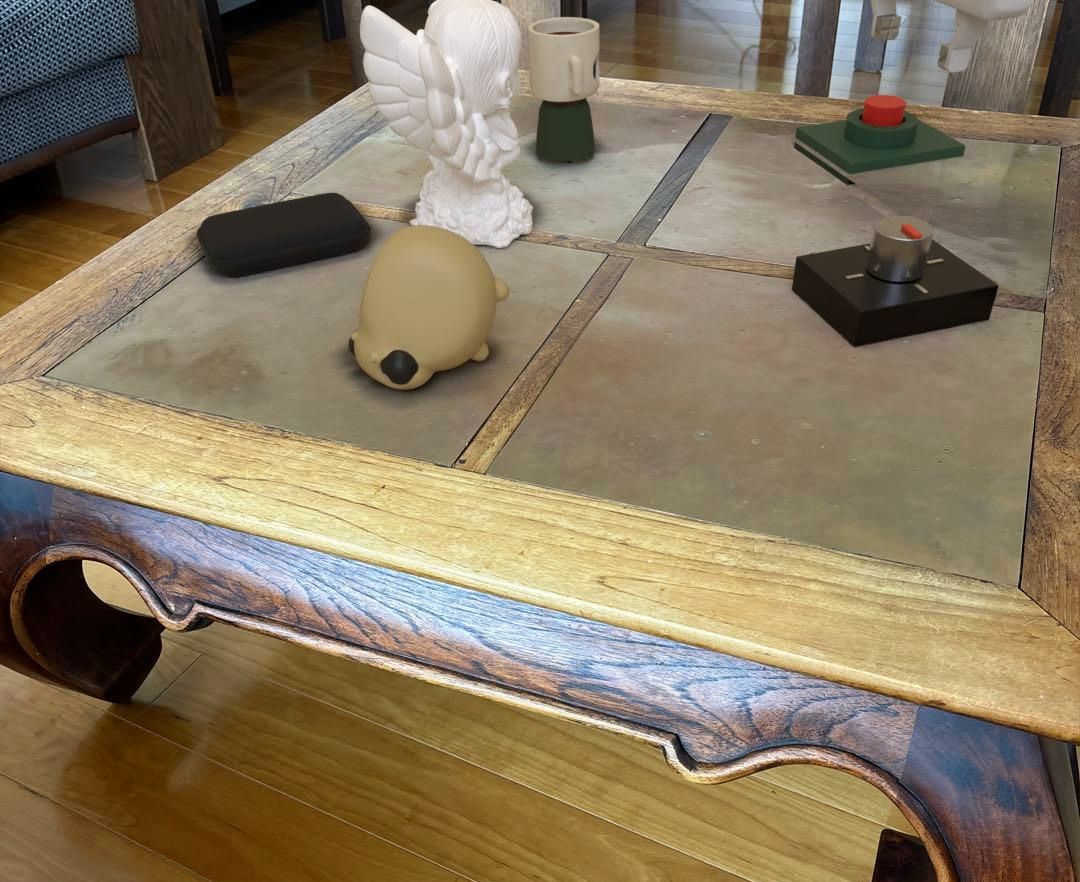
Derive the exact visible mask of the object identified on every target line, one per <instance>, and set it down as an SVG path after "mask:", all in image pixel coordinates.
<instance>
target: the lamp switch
mask: <svg viewBox="0 0 1080 882" xmlns="http://www.w3.org/2000/svg"><path fill="white" fill-rule="evenodd" d="M863 109H864V107H861V108H856V109H854V110H852V111H850V112H849V113H847V114H846V119H845V120H839V121H832V122H825V123H817V124H812V125H805V126H797V127H796V129H795V138H796V140H798V141H800V142H801V143H802V144H805V146H807V147H809V148H810V149H811V150H813V151H814V152H816V153H818V155H820V156H822V157H823V158H825V159H826V160H827V161H828V162H830V163H831V164H833V165H835V166H836V167H838V168H839V169H841V170H842V171H843V172H845V173H846V174H848V175H852V174H858V173H866V172H872V171H878V170H883V169H890V168H891V169H892V168H895V167H902V166H909V165H914V164H921V163H926V162H933V161H939V160H945V159H946V160H947V159H952V158H958V157H964V154H965V149H966V145H965V144H964V143H962V142H960V141H959V140H956V139H955V138H953V137H951V136H949V135H947V134H945V132H942V131H940V130H939V129H937V128H935V127H933V126H932V125H930V124H928V123H926V122H924V121H922V120H920V119H919V118H918V116H917V115H914V113H911V112H909V111H907V110H905V112H904V117H903V122H902V124H901V125H896V126H875V125H871V124H867V123H864V122H863V121H862V115H863ZM793 148H794V149H795V150H796V151H798V152H799V153H801V154H802V155H803V156H805V157H806V158H807V159H809V160H811V161H812V162H813V163H815V164H816V165H818V166H819V167H820V168H822V169H823V170H824V171H826V172H827V173H829V174H830V175H832V176H833V177H835V178H836V179H838V180H839V181H840V182H842V183H843V184H845V185H846V186H852V185H856V183H855V182H854V181H853V180H851V179H850V178H849V177H847V176H845V175H844V174H842V173H841V172H840V171H838V170H836V168H833V166H831V165H830V164H828V163H826V162H825V161H824V160H822V159H821V158H819V157H817V156H816V155H814V154H813V153H812V152H810V151H809V150H807V149H806V148H805V147H803V146H802V145H801V144H798V143H797V142H796V141H794V145H793Z"/></svg>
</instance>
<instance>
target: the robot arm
mask: <svg viewBox="0 0 1080 882" xmlns="http://www.w3.org/2000/svg"><path fill="white" fill-rule="evenodd" d="M933 1H934V2H936V3H939V4H942V5H944V6H947V7H949V8H952V9H954V10H956V12H955V18H954V25H955V26H958V27H957V29H956V31H955V32H954V34H953V36H952V37H951V39H950V41H949V43H942V44H941V45H940V49H939V58H938V59H937V66H938V67H939V68H940V69H942V70H943V71H946V72H948V73H950V74H952V73H953V74H954V73H959V72H964V71H965V70H966V69H967V68H968V66H969V62H970V58H971V53H972V50H973V47H974V46H975V45H976V43H977V42H978V41H979V39H980V38H981V37H982V36H983V34H984V33H985V31H986V30H987V29H988V27H989V26H990V22H992V21H993V22H995V21H1001V20H1008V19H1009V20H1010V19H1015V18H1020V17H1022V16H1024V15H1025V13H1026V12H1027V11H1028V10H1029V9H1030V8H1031V6H1032V5H1033V3H1034V2H1035V0H933ZM870 6H871V11H872V15H873V18H872V24H871V28H870V36H871V37H873V38H874V39H877V40H879V41H881V42H887V41H895V40H896V39H897V38H898V36H899V33H900V26H901V23H902V16H901V15H898V13H897V0H870Z"/></svg>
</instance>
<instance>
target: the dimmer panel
mask: <svg viewBox="0 0 1080 882" xmlns="http://www.w3.org/2000/svg"><path fill="white" fill-rule="evenodd" d="M870 245H871V242H869V243H865V244H857V245H852V246H848V247H842V248H836V249H831V250H825V251H819V252H814V253H808V254H802V255H798V256H796V257H795V263H794V264H795V265H794V269H793V270H794V271H793V278H792V284H791V291H792V292H793V293H794V294H795V295H797V296H798V297H799V298H800V299H801V300H802V301H803V302H804V303H806V304H807V305H808V307H810V308H811V309H812V310H813V311H814V312H815V313H816V314H818V316H820V317H821V318H822V319H823V320H824V321H825V322H826V323H827V324H828V325H830V326H831V328H833V329H834V330H835V331H836V332H837V333H838V334H839V335H841V336H842V337H843V338H844V339H845V340H846V341H847V342H848V343H849V344H850V345H852V347H854V348H857V347H861V346H866V345H871V344H876V343H881V342H886V341H890V340H891V341H892V340H896V339H901V338H906V337H911V336H916V335H921V334H925V333H926V334H927V333H931V332H935V331H942V330H946V329H950V328H954V327H960V326H965V325H971V324H975V323H981V322H985V321H989V320H990V318H991V315H992V311H993V308H994V304H995V302H996V298H997V295H998V294H997V293H998V290H999V287H1000V285H999V284H998V283H997V282H995V281H993V280H992V279H991V278H989V277H988V276H986V275H985V274H983V273H982V272H981V271H979V270H978V269H976V267H973V266H972V265H971V264H969V263H968V262H966V261H965V260H963V259H962V258H961V257H959V256H958V255H956V254H955V253H953V252H952V251H951V250H949V249H947V248H946V247H945V246H943V245H942V244H941V243H939V242H937V241H936V240H934V239H933V238H932V241H931V245H930V250H929V254H928V258H927V262H926V267H925V271H924V274H923V276H922V277H920V278H919V279H917V280H914V281H909V282H892V281H886V280H883V279H880V278H877V277H875V276H873V275H872V274H870V273H869V272H868V270H867V267H866V265H867V260H868V255H869V250H870Z"/></svg>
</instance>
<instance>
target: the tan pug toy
mask: <svg viewBox="0 0 1080 882" xmlns="http://www.w3.org/2000/svg"><path fill="white" fill-rule="evenodd" d="M509 295H510V289H509V286H508V285H507V283H506V282H505V281H503V280H502V279H500V278H498V277H496V276H495V275H494V274H493V271H492V269H491V266H490V264H489V262H488V261H487V259H486V257H485V256H484V255H483V253H482V252H481V251H480V250H479V249H478V248H477V246H475V244H472V243H471V242H469V241H468V240H467V239H465V238H464V237H462V236H460V235H458V234H456V233H454V232H452V231H449V230H447V229H443V228H440V227H435V226H428V225H414V226H412V225H408V226H406V227H402V228H400V229H399V230H397V231H395V232H394V233H393V234H391V235H390V236H389V237H388V239H387V240H386V241H385V242H384V243H383V245H382V246H381V248H379V251H378V253H377V255H376V257H375V258H374V260H373V263H372V266H371V267H370V270H369V273H368V276H367V278H366V281H365V284H364V288H363V292H362V296H361V298H360V299H361V300H360V306H359V313H358V314H359V322H358V328H357V329H356V330H355V331H354V332H352V333H351V335H350V337H349V339H348V350H349V353H350V355H351V356H352V357H353V358H354V359H355V360H356V361H357V364H358V365H359V367H360V368H361V369H362V370H363V371H364V372H365V373H366V374H367V375H368V376H369V377H371V378H372V379H374V380H375V381H377V382H379V383H380V384H382V385H384V386H387V387H389V388H391V389H395V390H413V389H416V388H418V387H421V386H423V385H424V384H426V383H427V382H428V381H429V380H430V379H431V378H432V376H433V375H434V373H436V372H440V371H447V370H450V369H451V370H452V369H454V368H456V367H459V366H461V365H463V364H464V363H466V362H467V361H469V360H473V361H476V362H482V361H485V360H486V359H487V357H488V356H489V353H490V350H489V347H488V343H487V342H486V339H487V337H488V335H489V334H490V331H491V329H492V327H493V324H494V320H495V317H496V314H497V313H496V312H497V305H498V303H499V302H504V301H506V300H507V299H508V298H509Z"/></svg>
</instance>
